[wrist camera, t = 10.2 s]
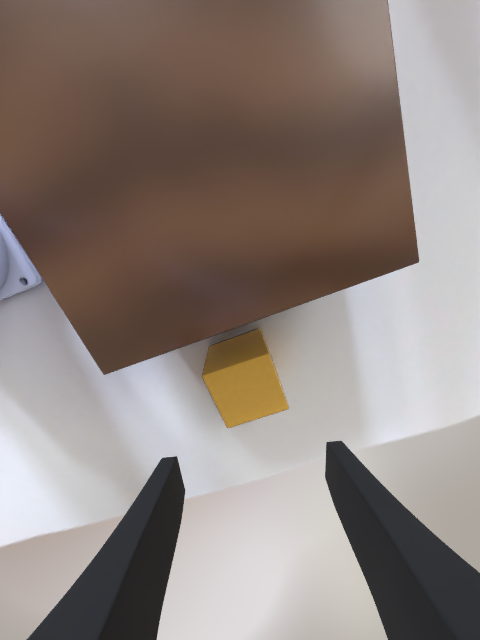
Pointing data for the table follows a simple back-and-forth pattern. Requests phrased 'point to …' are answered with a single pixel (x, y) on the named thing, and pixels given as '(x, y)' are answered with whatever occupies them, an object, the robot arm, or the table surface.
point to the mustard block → (243, 379)
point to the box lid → (200, 160)
